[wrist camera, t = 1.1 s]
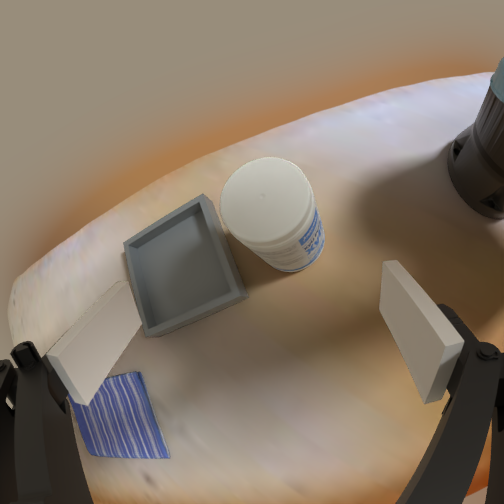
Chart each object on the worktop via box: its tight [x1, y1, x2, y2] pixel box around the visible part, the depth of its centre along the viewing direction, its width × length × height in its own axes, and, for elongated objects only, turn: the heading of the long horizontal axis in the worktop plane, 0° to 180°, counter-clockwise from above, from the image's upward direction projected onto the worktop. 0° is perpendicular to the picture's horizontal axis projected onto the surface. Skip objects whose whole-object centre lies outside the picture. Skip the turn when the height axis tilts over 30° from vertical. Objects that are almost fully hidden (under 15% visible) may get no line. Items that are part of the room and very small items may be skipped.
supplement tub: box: [220, 157, 325, 272], centre depth 34 cm, size 10×10×15 cm
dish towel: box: [68, 371, 170, 459], centre depth 43 cm, size 17×24×3 cm
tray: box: [123, 194, 249, 337], centre depth 44 cm, size 17×17×3 cm
